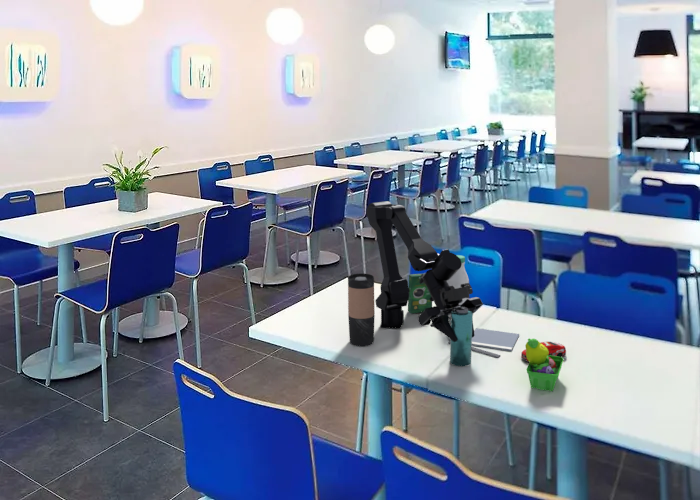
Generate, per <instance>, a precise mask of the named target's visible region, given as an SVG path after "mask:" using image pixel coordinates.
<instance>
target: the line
mask: <svg viewBox="0 0 700 500" xmlns="http://www.w3.org/2000/svg"><path fill="white" fill-rule="evenodd" d="M450 343H451V340H449V342H448V344H450ZM472 351H473V352H475V353H476V352H477V353H479V354H483V355H486V356H489V357H493V358H495V359H496V358H497V359H498V358H500V357H501V354H498V353H494V352H491V351H487V350H484V349H481V348H477V347H475V346H472V349H471V352H472Z"/></svg>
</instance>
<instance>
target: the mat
mask: <svg viewBox="0 0 700 500" xmlns="http://www.w3.org/2000/svg"><path fill="white" fill-rule="evenodd" d="M519 336H520V333H513V332H509V331H508V332H507V331H500V330H494V329H487V328H486V329H485V328H478V327H476V328H475V329H474V337H472V347H480V348H481V347H482V348H487V349H493V350H494V349H495V350H501V351H507V352H512V350H513V349H514V346H515V345H516V343H517V341H518V338H519Z"/></svg>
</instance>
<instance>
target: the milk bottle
mask: <svg viewBox="0 0 700 500" xmlns="http://www.w3.org/2000/svg"><path fill="white" fill-rule="evenodd" d="M455 255H456V256H458V257H459V258H460V260H461V263H462V265H461V268H460V269H459V270H458V271H457V272H456V273H455V274H454V275H453V276H452V277H451V279H449V280H447V282H448V284H449V286H453V287H454V288H455V289H456V288H460V287H461V284H464V283H469V284H470V279H469V276H468V274H467V271H466V268H465V264H466V257H465V256H464V255H460V254H455ZM467 299H470V298H464V299H462V300H463V301H462V302H461V303H459V305H462V304H463V303H464V302H465V301H466V300H467ZM448 318H450V319H451V315H448Z"/></svg>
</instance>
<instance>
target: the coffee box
mask: <svg viewBox="0 0 700 500" xmlns="http://www.w3.org/2000/svg"><path fill="white" fill-rule="evenodd" d="M425 273H426V272H424V273H412V274H408V288H409V291H410V292H409V298H408V302H407V312H408V313H409V314H421V313H422V312H423V311H424V310H425V309H426V308H430V307H433V301H432V302H431V301H430V298H431V294H430V292H429V290H428V288H427V286H426V284H425V283H423V284H420V278H421V274H425Z"/></svg>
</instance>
